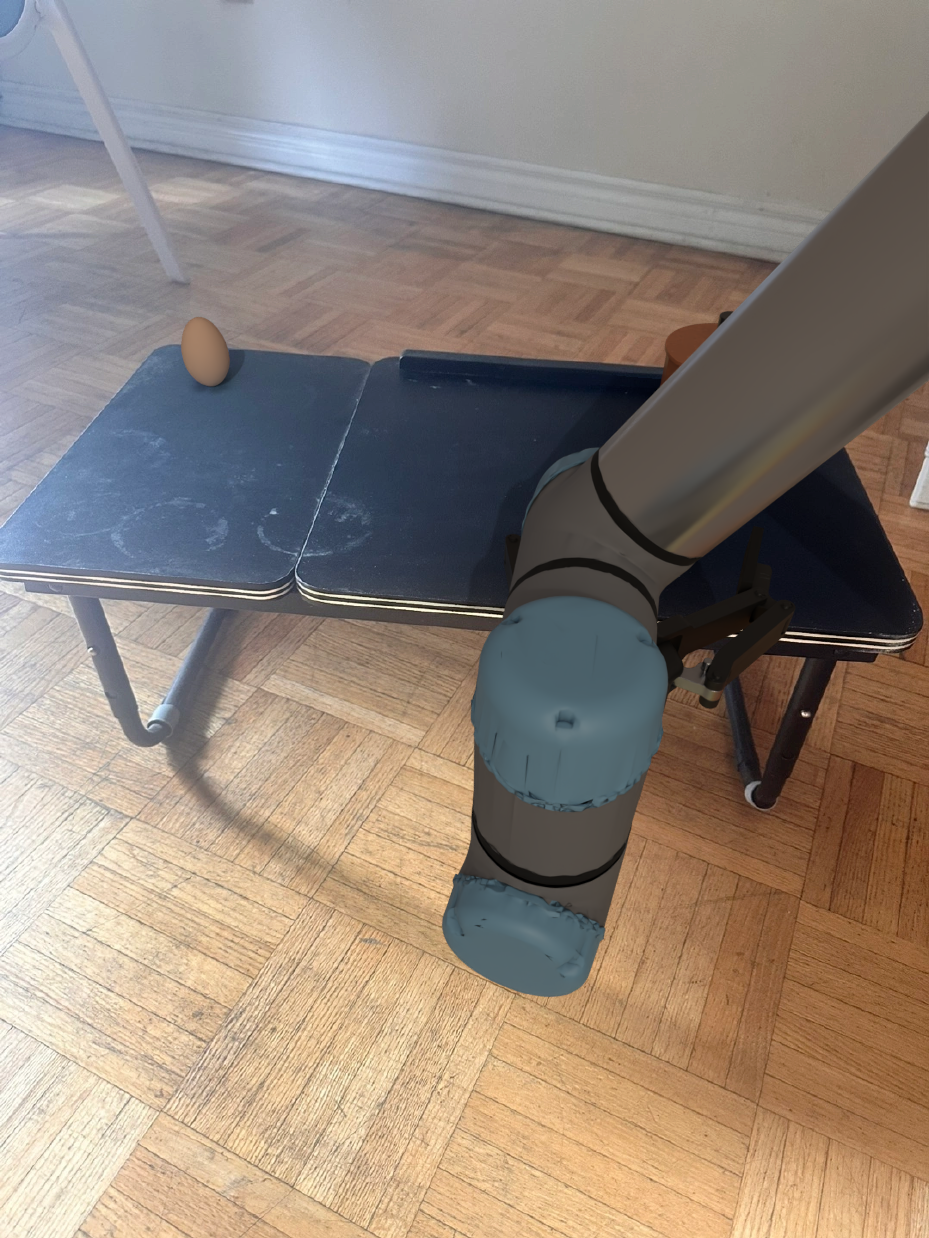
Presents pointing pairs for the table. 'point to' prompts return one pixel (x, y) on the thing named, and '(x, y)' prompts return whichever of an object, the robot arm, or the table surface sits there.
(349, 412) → the table surface
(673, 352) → the pot lid
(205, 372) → the egg
